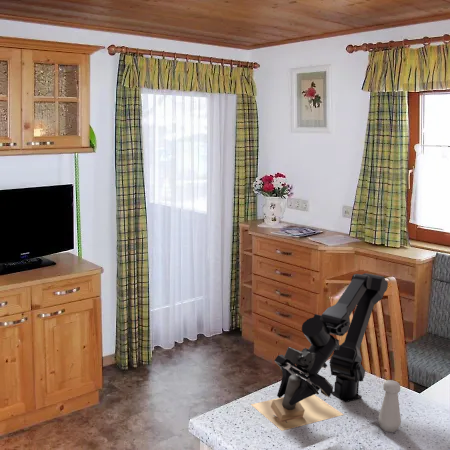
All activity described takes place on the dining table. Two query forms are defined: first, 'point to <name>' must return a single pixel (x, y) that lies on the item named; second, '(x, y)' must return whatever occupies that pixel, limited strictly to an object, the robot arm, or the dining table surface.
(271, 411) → the pine board
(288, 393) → the rubber stamp
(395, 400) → the salt shaker
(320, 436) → the dining table surface
